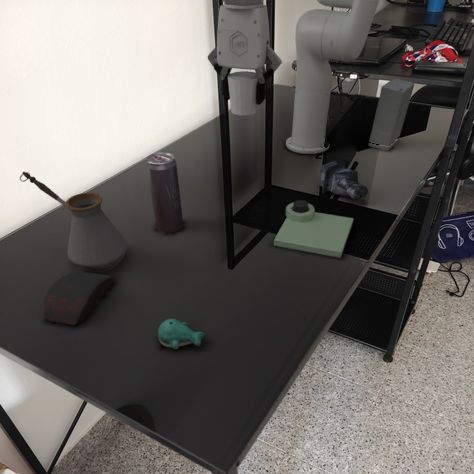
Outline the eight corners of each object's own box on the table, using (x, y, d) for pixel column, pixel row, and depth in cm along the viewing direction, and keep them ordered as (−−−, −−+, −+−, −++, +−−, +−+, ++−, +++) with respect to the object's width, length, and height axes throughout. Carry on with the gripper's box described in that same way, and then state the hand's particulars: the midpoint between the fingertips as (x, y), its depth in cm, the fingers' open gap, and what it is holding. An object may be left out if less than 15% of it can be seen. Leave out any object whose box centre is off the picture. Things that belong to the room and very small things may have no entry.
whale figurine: (167, 325, 73) (164, 308, 70) (208, 332, 72) (206, 315, 69) (153, 349, 69) (150, 332, 66) (197, 357, 68) (195, 340, 65)
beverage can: (172, 216, 98) (163, 149, 88) (188, 226, 95) (181, 157, 85) (151, 226, 96) (139, 158, 85) (167, 236, 93) (157, 166, 82)
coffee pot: (141, 254, 88) (126, 183, 77) (102, 284, 81) (79, 211, 70) (67, 228, 96) (44, 159, 85) (26, 253, 89) (-5, 182, 78)
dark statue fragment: (358, 209, 100) (363, 182, 95) (314, 190, 106) (317, 164, 102) (374, 200, 103) (380, 173, 98) (330, 182, 109) (334, 156, 105)
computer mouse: (41, 320, 74) (32, 302, 71) (80, 274, 83) (74, 256, 81) (82, 327, 73) (76, 309, 70) (118, 280, 82) (113, 262, 79)
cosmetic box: (378, 137, 130) (391, 77, 118) (401, 142, 127) (416, 81, 115) (366, 146, 125) (378, 84, 114) (390, 152, 122) (405, 89, 111)
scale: (289, 212, 99) (290, 200, 97) (353, 222, 95) (355, 210, 93) (271, 245, 90) (271, 232, 87) (340, 258, 86) (343, 245, 84)
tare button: (295, 205, 96) (295, 198, 95) (309, 207, 95) (309, 201, 94) (291, 212, 94) (291, 205, 93) (305, 214, 93) (306, 208, 92)
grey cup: (256, 117, 93) (256, 80, 88) (225, 115, 94) (223, 78, 89) (262, 107, 97) (262, 71, 92) (232, 105, 98) (231, 69, 93)
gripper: (193, -3, 81) (200, 102, 94) (281, 1, 76) (276, 110, 89) (210, -8, 86) (214, 92, 99) (293, -5, 81) (287, 100, 94)
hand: (244, 100), depth 94 cm, fingers closed on grey cup, 6 cm apart
